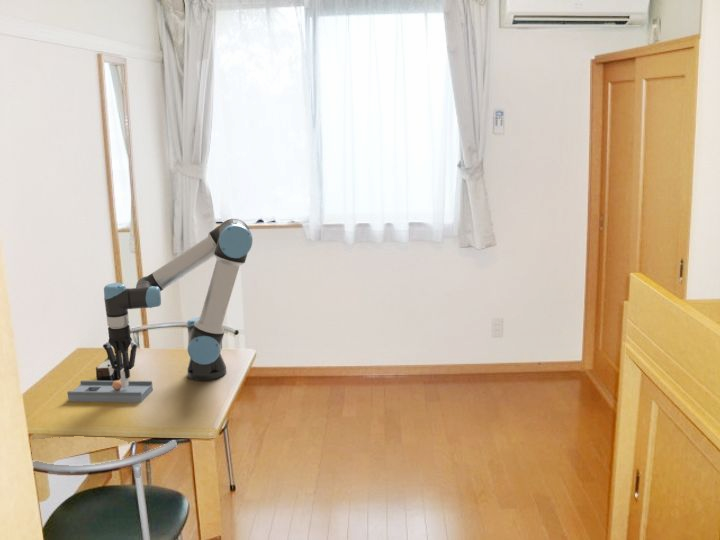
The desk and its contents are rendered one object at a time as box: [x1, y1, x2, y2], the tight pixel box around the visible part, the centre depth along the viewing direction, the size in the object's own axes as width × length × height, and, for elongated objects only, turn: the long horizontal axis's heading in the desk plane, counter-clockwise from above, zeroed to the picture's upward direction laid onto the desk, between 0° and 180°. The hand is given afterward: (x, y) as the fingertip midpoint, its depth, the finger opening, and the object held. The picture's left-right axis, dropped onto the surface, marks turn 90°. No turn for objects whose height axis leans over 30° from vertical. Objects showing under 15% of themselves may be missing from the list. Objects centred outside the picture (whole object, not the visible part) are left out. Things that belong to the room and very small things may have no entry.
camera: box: [95, 348, 124, 381], centre depth 298 cm, size 15×8×10 cm, turn 175°
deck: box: [67, 380, 154, 403], centre depth 280 cm, size 28×11×4 cm, turn 84°
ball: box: [112, 380, 122, 390], centre depth 279 cm, size 4×4×4 cm
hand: (125, 386), depth 279 cm, fingers closed
